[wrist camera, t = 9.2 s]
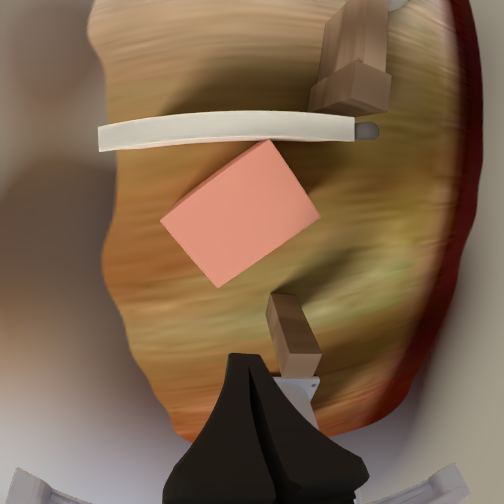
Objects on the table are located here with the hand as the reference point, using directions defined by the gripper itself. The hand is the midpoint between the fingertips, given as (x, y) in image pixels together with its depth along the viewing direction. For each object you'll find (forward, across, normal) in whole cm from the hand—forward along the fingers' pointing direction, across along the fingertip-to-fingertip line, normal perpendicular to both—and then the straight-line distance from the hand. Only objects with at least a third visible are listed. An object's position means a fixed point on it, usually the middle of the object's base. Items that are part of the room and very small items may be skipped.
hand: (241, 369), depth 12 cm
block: (+10, 0, -6) cm, 11 cm away
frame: (+9, -4, -8) cm, 13 cm away
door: (+9, +2, -10) cm, 14 cm away
